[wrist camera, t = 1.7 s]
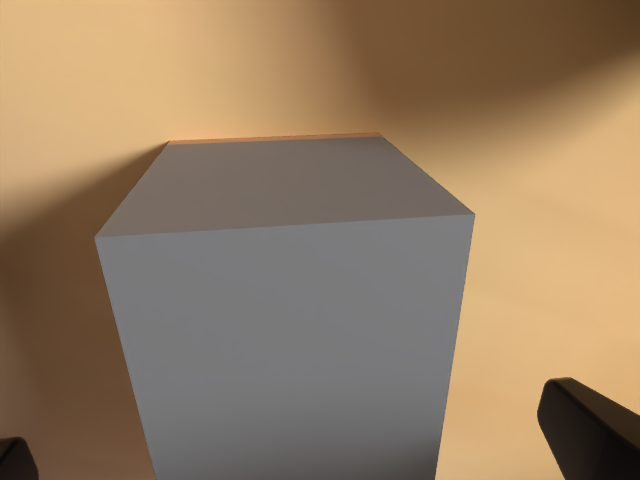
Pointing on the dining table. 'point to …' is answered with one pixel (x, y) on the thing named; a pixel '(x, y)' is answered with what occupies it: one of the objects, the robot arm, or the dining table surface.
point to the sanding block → (288, 307)
